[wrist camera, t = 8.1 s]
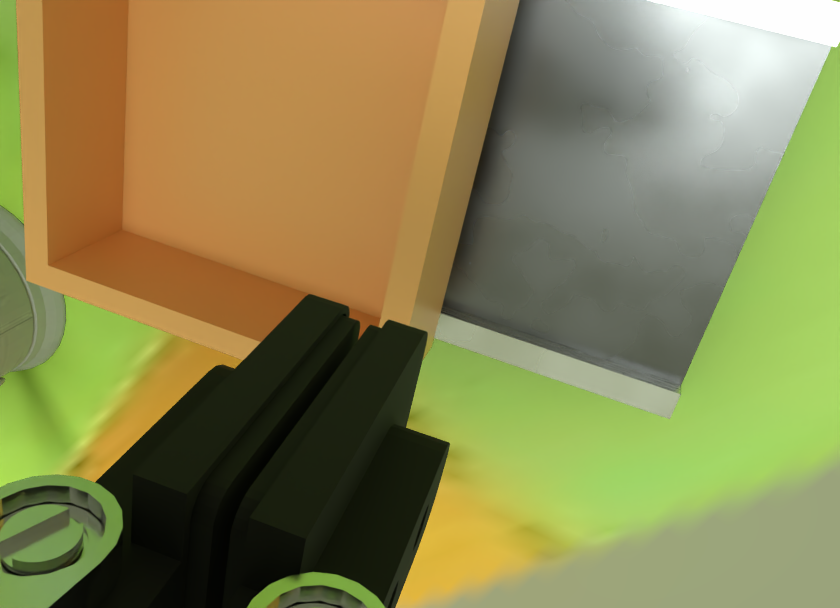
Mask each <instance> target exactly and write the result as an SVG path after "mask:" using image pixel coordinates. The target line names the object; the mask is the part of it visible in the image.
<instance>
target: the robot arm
mask: <svg viewBox="0 0 840 608" xmlns="http://www.w3.org/2000/svg"><path fill="white" fill-rule="evenodd" d="M349 316H350V310H349V307H348V306H346V305H343V304H340V303H337V302H334V301H331V300H328V299H325V298H322V297H319V296H316V295H312V294H308V295H307V296H305V297H304V298H303V299H302V300H301V301H300V302H299V303H298V305H297V306H296V307H295V308H294V309H293V310H292V311H291V312H290V313H289V314H288V315H287V316H286V317H285V318H284V319H283V320H282V321H281V322H280V323H279V324H278V325H277V326H276V327H275V328H274V329H273V330H272V331H271V332H270V333H269V334H268V335H267V336H266V337H265V338H264V340H263V341H262V342H261V343H260V344H259V345H258V346H257V347H256V348H255V349H254V350H253V351H252V352H251V353H250V354H249V355H248V356H247V357H246V358H245V359H244V360H243V361H242V362H241V363H240V364H239V365H238V366H237V367H236V368H235V369H234V368H231V367H228V366H225V365H218V366H216V367H214V368H213V369H211V370H210V371H209V372H208V373H207V374H206V375H205V376H204V377H203V378H202V379H201V380H200V381H199V382H198V383H197V384H195V385H194V386H193V387H192V388H191V389H190V390H189V391H188V392H187V393H186V394H185V395H184V396H183V397H182V398H181V399H180V400H179V401H178V402H177V403H176V404H175V405H174V406H173V407H172V408H171V409H170V410H169V411H168V412H167V413H166V414H165V415H164V416H163V417H162V418H161V419H160V420H159V421H158V422H157V423H155V424H154V425H153V426H152V427H151V428H150V429H149V430H148V431H147V432H146V433H145V434H144V435H143V436H142V437H141V438H140V439H139V440H138V441H137V442H136V443H135V444H134V445H133V446H132V447H131V448H130V449H129V450H128V451H127V452H126V453H125V454H124V455H123V456H122V457H121V458H120V459H119V460H118V461H117V462H115V463H114V464H113V465H112V466H111V467H110V468H109V469H108V470H107V471H106V472H105V473H104V474H103V475H102V476H101V477H100V478H99V479H98V480H97V481H96V482H95V483H94V482H92V481H89V480H86V479H84V478H81V477H74V476H66V475H45V476H34V477H29V478H26V479H22V480H19V481H15V482H12V483H8V484H6V485H4V486H2V487H0V608H395V607H396V604H397V602H398V599H399V596H400V594H401V591H402V589H403V586H404V583H405V581H406V578H407V576H408V573H409V570H410V568H411V565H412V563H413V560H414V557H415V555H416V552H417V550H418V547H419V544H420V542H421V539H422V536H423V533H424V530H425V527H426V524H427V521H428V518H429V515H430V512H431V509H432V506H433V503H434V500H435V497H436V493H437V490H438V487H439V483H440V480H441V476H442V473H443V469H444V466H445V462H446V458H447V455H448V451H449V446H450V443H448V442H445V441H443V440H440V439H437V438H434V437H431V436H428V435H425V434H422V433H419V432H416V431H414V430H411V429H408V428H406V425H407V421H408V417H409V413H410V409H411V405H412V401H413V397H414V393H415V389H416V384H417V380H418V376H419V372H420V368H421V364H422V360H423V356H424V352H425V348H426V343H427V338H428V332H427V331H424V330H420V329H417V328H414V327H411V326H408V325H405V324H402V323H399V322H396V321H393V320H387V321H386V322H385V324H384V325H383V327H382V328H380V327H377V326H374V325H369V326H368V327H367V329H366V330H365V331H364V333H363V334H362V336H361V337H360V338H359V340H358V337H359V332H360V321H358V320H355V319H352V318H349Z"/></svg>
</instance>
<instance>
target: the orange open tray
mask: <svg viewBox="0 0 840 608" xmlns="http://www.w3.org/2000/svg"><path fill="white" fill-rule="evenodd" d="M519 1H520V0H16V14H17V42H18V69H19V96H20V124H21V151H22V179H23V206H24V233H25V261H26V281H28V282H31V283H34V284H37V285H39V286H42V287H45V288H48V289H50V290H53V291H56V292H58V293H61V294H64V295H67V296H69V297H72V298H75V299H78V300H80V301H83V302H86V303H88V304H91V305H94V306H97V307H99V308H102V309H105V310H108V311H110V312H113V313H116V314H119V315H121V316H124V317H127V318H129V319H132V320H135V321H138V322H140V323H143V324H146V325H149V326H151V327H154V328H157V329H159V330H162V331H165V332H168V333H170V334H173V335H176V336H179V337H181V338H184V339H187V340H189V341H192V342H195V343H198V344H200V345H203V346H206V347H209V348H211V349H214V350H217V351H219V352H222V353H225V354H228V355H230V356H233V357H236V358H239V359H241V360H244V359H245V358H246V357H247V356H248V355H249V354H250V353H251V352H252V351H253V350H254V349H255V348H256V347H257V346H258V345H259V344H260V343H261V342H262V341H263V340H264V338H265V337H266V336H267V335H268V334H269V333H270V332H271V331H272V330H273V329H274V328H275V327H276V326H277V325H278V324H279V323H280V322H281V321H282V320H283V319H284V318H285V317H286V316H287V315H288V314H289V313H290V312H291V311H292V310H293V309H294V308H295V307H296V306H297V305H298V303H299V302H300V301H301V300H302V299H303V298H304V297H305V296H307V295H308V294H312V295H316V296H319V297H322V298H325V299H328V300H331V301H334V302H337V303H340V304H343V305H346V306H348V307H349V310H350V316H349V318H352V319H355V320H358V321H360V332H359V337H358V340H359V338H360V337H361V336H362V334H363V333H364V331H365V330H366V329H367V327H368V326H369V325H374V326H377V327H380V328H382V327H383V325H384V324H385V322H386V321H387V320H393V321H396V322H399V323H402V324H405V325H408V326H411V327H414V328H417V329H420V330H424V331H427V332H428V338H427V343H426V348H425V352H424V356H423V359H424V358H425V356H426V355H427V353H428V351H429V350H430V348H431V347H432V344H433V340H434V336H435V332H436V328H437V324H438V320H439V317H440V313H441V309H442V305H443V301H444V297H445V293H446V289H447V285H448V281H449V277H450V273H451V269H452V265H453V261H454V257H455V253H456V250H457V246H458V242H459V238H460V234H461V230H462V226H463V222H464V218H465V214H466V210H467V206H468V202H469V198H470V194H471V190H472V186H473V182H474V179H475V175H476V171H477V167H478V163H479V159H480V155H481V151H482V147H483V143H484V139H485V135H486V131H487V127H488V123H489V119H490V115H491V112H492V108H493V104H494V100H495V96H496V92H497V88H498V84H499V80H500V76H501V72H502V68H503V64H504V60H505V56H506V52H507V48H508V44H509V41H510V37H511V33H512V29H513V25H514V21H515V17H516V13H517V9H518V5H519ZM422 361H423V360H422Z"/></svg>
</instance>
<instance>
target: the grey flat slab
mask: <svg viewBox="0 0 840 608" xmlns="http://www.w3.org/2000/svg"><path fill="white" fill-rule="evenodd" d="M839 40H840V3H839V2H835V1H831V0H520V1H519V5H518V9H517V13H516V17H515V21H514V25H513V29H512V33H511V37H510V41H509V44H508V48H507V52H506V56H505V60H504V64H503V68H502V72H501V76H500V80H499V84H498V88H497V92H496V96H495V100H494V104H493V108H492V112H491V115H490V119H489V123H488V127H487V131H486V135H485V139H484V143H483V147H482V151H481V155H480V159H479V163H478V167H477V171H476V175H475V179H474V182H473V186H472V190H471V194H470V198H469V202H468V206H467V210H466V214H465V218H464V222H463V226H462V230H461V234H460V238H459V242H458V246H457V250H456V253H455V257H454V261H453V265H452V269H451V273H450V277H449V281H448V285H447V289H446V293H445V297H444V301H443V305H442V309H441V313H440V317H439V320H438V324H437V328H436V332H435V336H434V338H436V339H439V340H441V341H444V342H447V343H450V344H453V345H456V346H459V347H462V348H465V349H468V350H470V351H473V352H476V353H479V354H482V355H485V356H488V357H491V358H494V359H497V360H500V361H502V362H505V363H508V364H511V365H514V366H517V367H520V368H523V369H526V370H529V371H532V372H534V373H537V374H540V375H543V376H546V377H549V378H552V379H555V380H558V381H561V382H563V383H566V384H569V385H572V386H575V387H578V388H581V389H584V390H587V391H590V392H593V393H595V394H598V395H601V396H604V397H607V398H610V399H613V400H616V401H619V402H622V403H625V404H627V405H630V406H633V407H636V408H639V409H642V410H645V411H648V412H651V413H654V414H657V415H659V416H662V417H665V418H668V419H670V417H671V415H672V413H673V411H674V409H675V406H676V404H677V402H678V400H679V397H680V395H681V384H682V381H683V379H684V377H685V375H686V373H687V370H688V368H689V366H690V364H691V361H692V359H693V357H694V355H695V352H696V350H697V348H698V346H699V343H700V341H701V339H702V337H703V334H704V332H705V330H706V328H707V325H708V323H709V321H710V319H711V316H712V314H713V312H714V310H715V307H716V305H717V303H718V301H719V298H720V296H721V294H722V292H723V289H724V287H725V285H726V283H727V280H728V278H729V276H730V274H731V271H732V269H733V267H734V265H735V262H736V260H737V258H738V256H739V253H740V251H741V249H742V247H743V244H744V242H745V240H746V238H747V235H748V233H749V231H750V229H751V226H752V224H753V222H754V220H755V217H756V215H757V213H758V211H759V209H760V206H761V204H762V202H763V200H764V197H765V195H766V193H767V191H768V188H769V186H770V184H771V182H772V179H773V177H774V175H775V173H776V170H777V168H778V166H779V164H780V161H781V159H782V157H783V155H784V152H785V150H786V148H787V146H788V143H789V141H790V139H791V137H792V134H793V132H794V130H795V128H796V125H797V123H798V121H799V119H800V116H801V114H802V112H803V110H804V107H805V105H806V103H807V101H808V98H809V96H810V94H811V92H812V89H813V87H814V85H815V83H816V80H817V78H818V76H819V74H820V71H821V69H822V67H823V65H824V62H825V60H826V58H827V56H828V53H829V51H830V49H831V47H832V46H834V47H837V45H838V43H839Z"/></svg>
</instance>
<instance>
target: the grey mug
mask: <svg viewBox="0 0 840 608" xmlns="http://www.w3.org/2000/svg"><path fill="white" fill-rule="evenodd" d="M65 322H66V312H65V301H64V296H63V294H61V293H58V292H56V291H53V290H50V289H48V288H45V287H42V286H39V285H37V284H34V283H31V282H28V281H26V261H25V233H24V225H23V224H22V223H21V222H20V221H19V220H18V219H17V218H16V217H15V216H14V215H13V214H11V213H10V212H8V211H7V210H6V209H4V208H3V207H2V206H0V377H1V378H0V386H1V385H2V384H3V383H4V382H5V378H2V376H3V375H5V374H7V373H9V372H11V371H21V370H26V369H31V368H33V367H35V366H38V365H40V364H42V363H44V362H45V361H46V360H47V359H49V358H50V357H51V356H52V355H53V354H54V352H55V351H56V349H57V348H58V347H59V345H60V342H61V339H62V337H63V334H64V328H65Z"/></svg>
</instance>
